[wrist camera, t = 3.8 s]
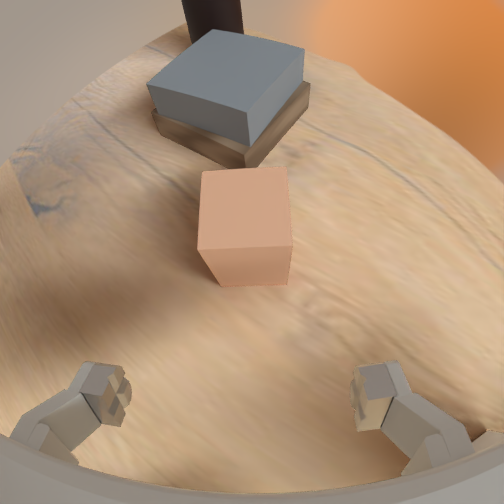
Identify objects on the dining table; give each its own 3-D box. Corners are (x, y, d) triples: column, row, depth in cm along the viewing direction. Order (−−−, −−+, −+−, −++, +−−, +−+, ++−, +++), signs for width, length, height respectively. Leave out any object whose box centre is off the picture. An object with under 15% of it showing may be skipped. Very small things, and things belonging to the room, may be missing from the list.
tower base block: (162, 138, 30) (150, 112, 27) (225, 79, 33) (221, 53, 29) (247, 181, 28) (243, 155, 24) (307, 111, 30) (310, 83, 27)
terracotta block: (221, 286, 24) (197, 249, 16) (222, 227, 26) (202, 171, 18) (287, 284, 24) (292, 245, 16) (283, 224, 25) (286, 166, 18)
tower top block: (158, 114, 26) (146, 83, 23) (217, 58, 29) (212, 29, 25) (250, 147, 24) (246, 112, 20) (302, 81, 27) (304, 49, 23)
